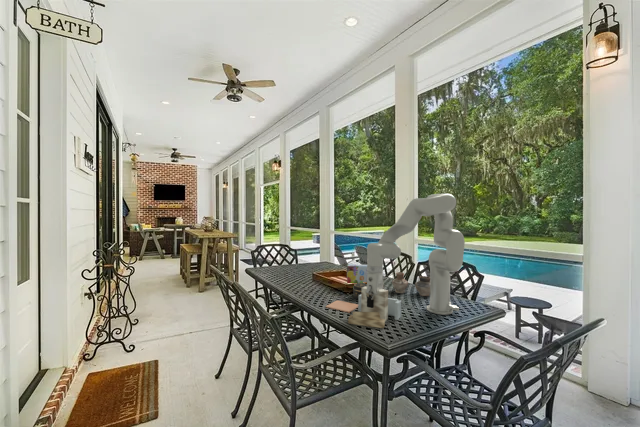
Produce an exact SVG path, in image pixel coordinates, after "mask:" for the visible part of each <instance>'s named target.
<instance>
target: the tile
mask: <svg viewBox="0 0 640 427" xmlns="http://www.w3.org/2000/svg"><path fill="white" fill-rule="evenodd" d="M325 308H327V309H331V310H335V309H336V310H335V311H339V310H340V312H345V313H349V314H350V313H351V312H354V310H356V309H358V304H357V303H352V302H348V301H343V300H335V301H333V302H331V303H329V304H327V305H326V306H325Z"/></svg>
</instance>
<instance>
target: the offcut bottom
mask: <svg viewBox="0 0 640 427" xmlns="http://www.w3.org/2000/svg"><path fill="white" fill-rule="evenodd" d="M347 320H348V322H347V323H348V325H349V324H351V325H358V326H365V327H370V328H371V327H372V328H378V329H384V328H385V325H386V321H385V319H380V320H353V314H350V315H349V316H348V319H347Z"/></svg>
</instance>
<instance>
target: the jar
mask: <svg viewBox="0 0 640 427" xmlns="http://www.w3.org/2000/svg"><path fill="white" fill-rule="evenodd" d="M364 286H367V284H365V283H357V284H354V286H353V289H352V290H353V291H352V292H353V294H352V295H353V298H354V299H355V300H357V301H358V296H359V295H361V291H362V288H363V287H364Z"/></svg>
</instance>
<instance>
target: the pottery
mask: <svg viewBox="0 0 640 427" xmlns="http://www.w3.org/2000/svg"><path fill="white" fill-rule="evenodd" d="M404 275H405V273H404V272H398V271H396V272H395V276H396V277H395V278H394V279H392V281H391V284H392V287H393V289H394V290H395V291H394V292H395V293H397V294H404V293H406V291H405V290H406V289H407V288H408V286H409V281H407V279H405V278H404ZM418 279H419V280H418V281H416V282H414V287H415V290H416V291H417V292H418V293H419V294H418V295H419V296H421V297H430V276H427V275H420V276H419V277H418Z"/></svg>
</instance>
